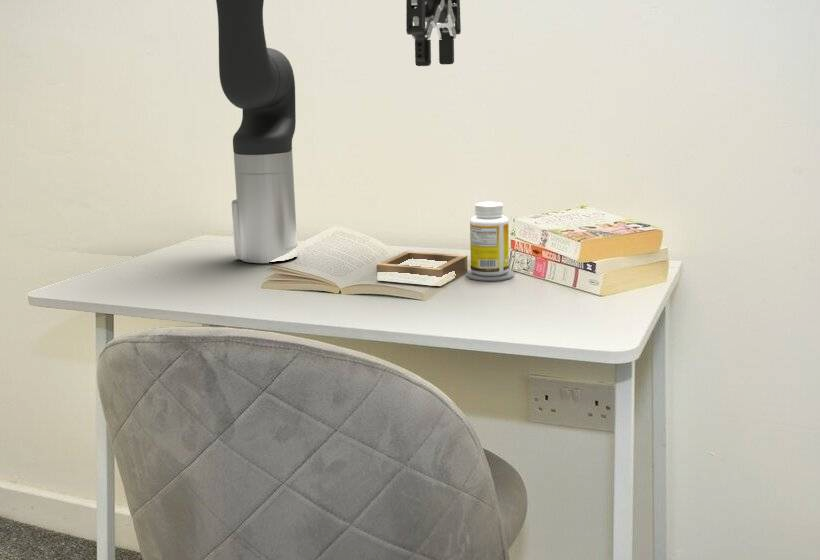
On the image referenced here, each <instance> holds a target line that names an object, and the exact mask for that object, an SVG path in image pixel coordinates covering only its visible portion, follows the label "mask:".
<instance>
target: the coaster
mask: <svg viewBox="0 0 820 560" xmlns="http://www.w3.org/2000/svg"><path fill="white" fill-rule="evenodd" d="M465 275H466V278H468V279H470V280H474V281H480V282H500V281H507V280H510V279H513V278H514V277H515V271H513V270H511V269H508V272H507V273H505V274H503V275H499V276H479V275H476V274H474V273H473V272H472V271H471V269H470V270H468V271H467V272H466V273H465Z"/></svg>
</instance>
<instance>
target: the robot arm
mask: <svg viewBox="0 0 820 560" xmlns="http://www.w3.org/2000/svg"><path fill="white" fill-rule="evenodd" d="M264 2H265V0H215V3H216V10H217V23H218V25H217V26H218V27H217V28H218V29H217V30H218V73H219V82H220V87H221V89H222V92H223V94H224V97H226V98H227V100H228V101H229V102H230V104H232V105H233V106H235V107H236V108H239V109H242V119H241V123H240V125H239V127H238V129H237V130H236V132H235V133H234V134H233V136H232V137H233V138H232V151H233V163H234V164H233V165H234V166H233V167H234V176H235V177H234V178H235V180H234V181H235V193H236V199H233V200H232V201H231V216H232V228H233V229H232V230H233V232H232V233H233V243H234V247H233V248H234V258H235V260H241V261H242V262H246V263H250V264H251V263H252V264H253V263H254V264H270V263H269V262H270V261H272V260H274V259H276V258H278V257H280V256H283V255H285V254H287V253H289V252H290V251H292V250H293V249H295V248H296V247H297V248H298V241H297V240H298V239H297V219H296V218H297V217H296V200H295V199H296V198H295V182H294V181H295V179H294V178H295V177H294V161H293V137H294V134H295V132H296V118H297V117H296V115H297V114H296V82H295V73H294V70H293V67H292V65H291V62H290V60H289V59H288V58H287V57H286V55H285V54H284V53H282V52H281V51H279V50H277V49H275V48H271V47H267V41H266V35H265V28H264V26H265V25H264ZM405 10H406V14H405V15H406V18H405V20H406V21H405V23H406V26H405V28H406V34H407V35H411V37H412V39H413V40H414V58H415V60H414V63H415V65H416V66H417V67H430V66H431V64H432V49H431V48H432V47H431V46H432V43H431V39H430V38H431V35H432V32H433V29H436V32H437V35H438V38H439V39H438V62H439V64H440V65H453V64H454V63H455V46H454V45H455V39H456V38H457V35H461V34H462V33H461V31H462V26H461V0H406V8H405Z"/></svg>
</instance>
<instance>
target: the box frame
mask: <svg viewBox="0 0 820 560" xmlns="http://www.w3.org/2000/svg"><path fill="white" fill-rule="evenodd" d="M412 258H413V259H427V260H435V261H447V263H445V264H443V265H441V266H439V267H437V268H433V267H421V266H409V265H398V264H400V263H402V262H404V261H406V260H408V259H412ZM468 269H469V267H468V255H464V254H453V253H452V254H450V253H440V252H439V253H438V252H437V253H435V252H423V251H413V250H412V251H411V250H406V251H403V252H402V253H399V254H397V255H395V256H392V257H390V258H388V259H386V260H383V261H381V262H379V263H377V264H376V273H377V272H398V273H410V274H419V275H428V276H436V277H442V276H443V275H445V274H448V273H449V272H452V271H455V274H456V276H455V275H454V276H455V278H456V279H457V278H460V277H461V276H463V275H464V274H465V275H466V272H467V271H469V270H468Z"/></svg>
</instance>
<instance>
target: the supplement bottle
mask: <svg viewBox="0 0 820 560" xmlns="http://www.w3.org/2000/svg"><path fill="white" fill-rule="evenodd" d="M474 208H475V209H474V212H475V215H474V216H472V217H471V218H470V221H469V223H470V224H469V230H470V231H469V232H470V233H469V235H470V236H469V237H470V239H469V240H470V242H469V243H470V249H469V250H470V270H471V271H472V272H473V273H474V274H476V275H479V276H499V275H503V274H505V273H507V272H508V269H509V268H510V267H509V264H510V263H509V261H510V259H509V255H510V252H509V249H510V247H509V246H510V245H509V242H510V241H509V232H510V231H509V223H510V222H509V218H508V217H507V216H505V215H504V204H503V203H502V202H498V201H482V202H476V203H475V207H474ZM509 270H510V269H509Z"/></svg>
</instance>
